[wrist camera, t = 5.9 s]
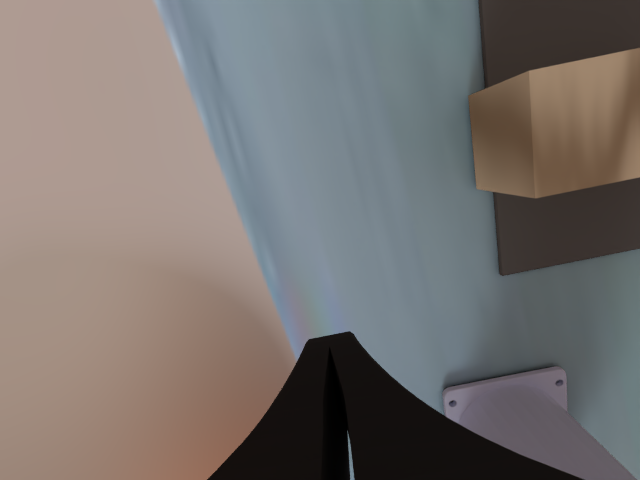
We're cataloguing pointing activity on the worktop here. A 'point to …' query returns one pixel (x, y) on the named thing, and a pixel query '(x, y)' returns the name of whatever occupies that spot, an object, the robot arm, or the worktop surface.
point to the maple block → (559, 127)
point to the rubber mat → (575, 206)
